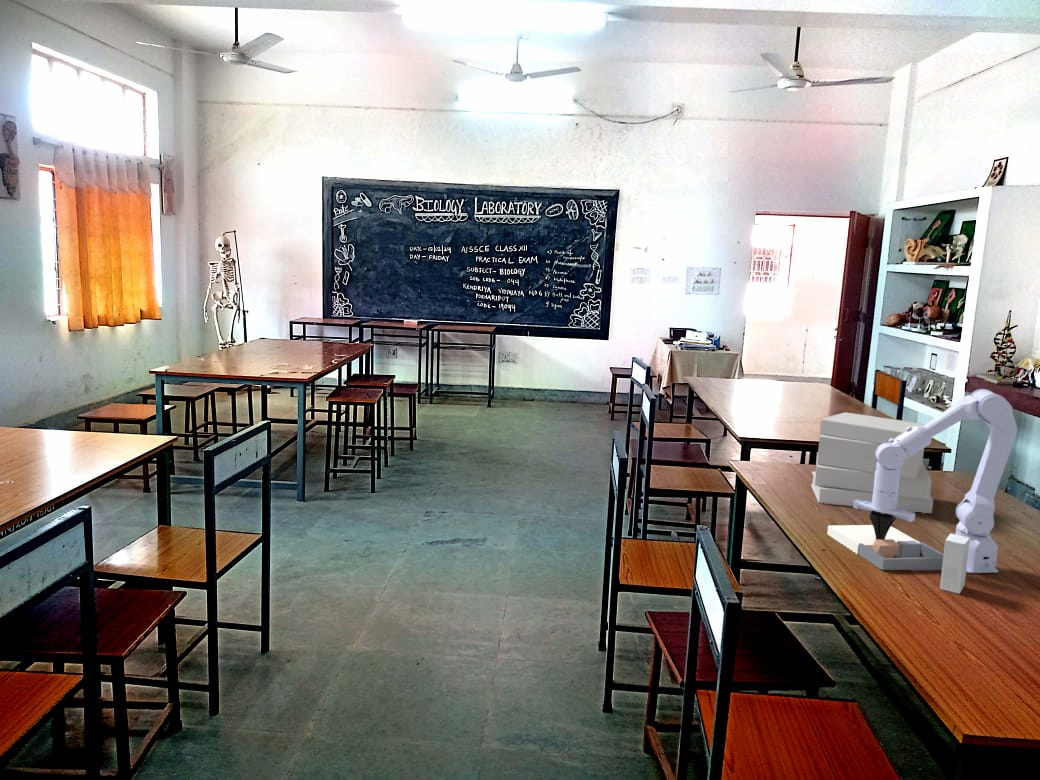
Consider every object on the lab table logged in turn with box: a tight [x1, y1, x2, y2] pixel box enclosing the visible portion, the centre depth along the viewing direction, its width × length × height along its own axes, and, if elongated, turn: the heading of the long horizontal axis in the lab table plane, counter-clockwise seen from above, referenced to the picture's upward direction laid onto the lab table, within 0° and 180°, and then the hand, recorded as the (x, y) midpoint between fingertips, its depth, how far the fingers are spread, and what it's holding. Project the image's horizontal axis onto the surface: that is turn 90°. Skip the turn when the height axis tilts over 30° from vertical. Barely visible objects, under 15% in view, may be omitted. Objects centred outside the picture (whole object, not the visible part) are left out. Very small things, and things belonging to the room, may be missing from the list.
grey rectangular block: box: [896, 541, 921, 558], centre depth 192 cm, size 4×5×2 cm
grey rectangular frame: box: [857, 541, 944, 571], centre depth 188 cm, size 11×18×3 cm, turn 96°
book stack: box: [810, 411, 934, 514], centre depth 241 cm, size 30×35×26 cm
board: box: [826, 524, 920, 555], centre depth 201 cm, size 15×18×2 cm
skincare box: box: [939, 533, 970, 595], centre depth 173 cm, size 6×4×12 cm
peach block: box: [872, 539, 899, 558], centre depth 191 cm, size 4×5×2 cm
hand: (880, 541), depth 193 cm, fingers closed
